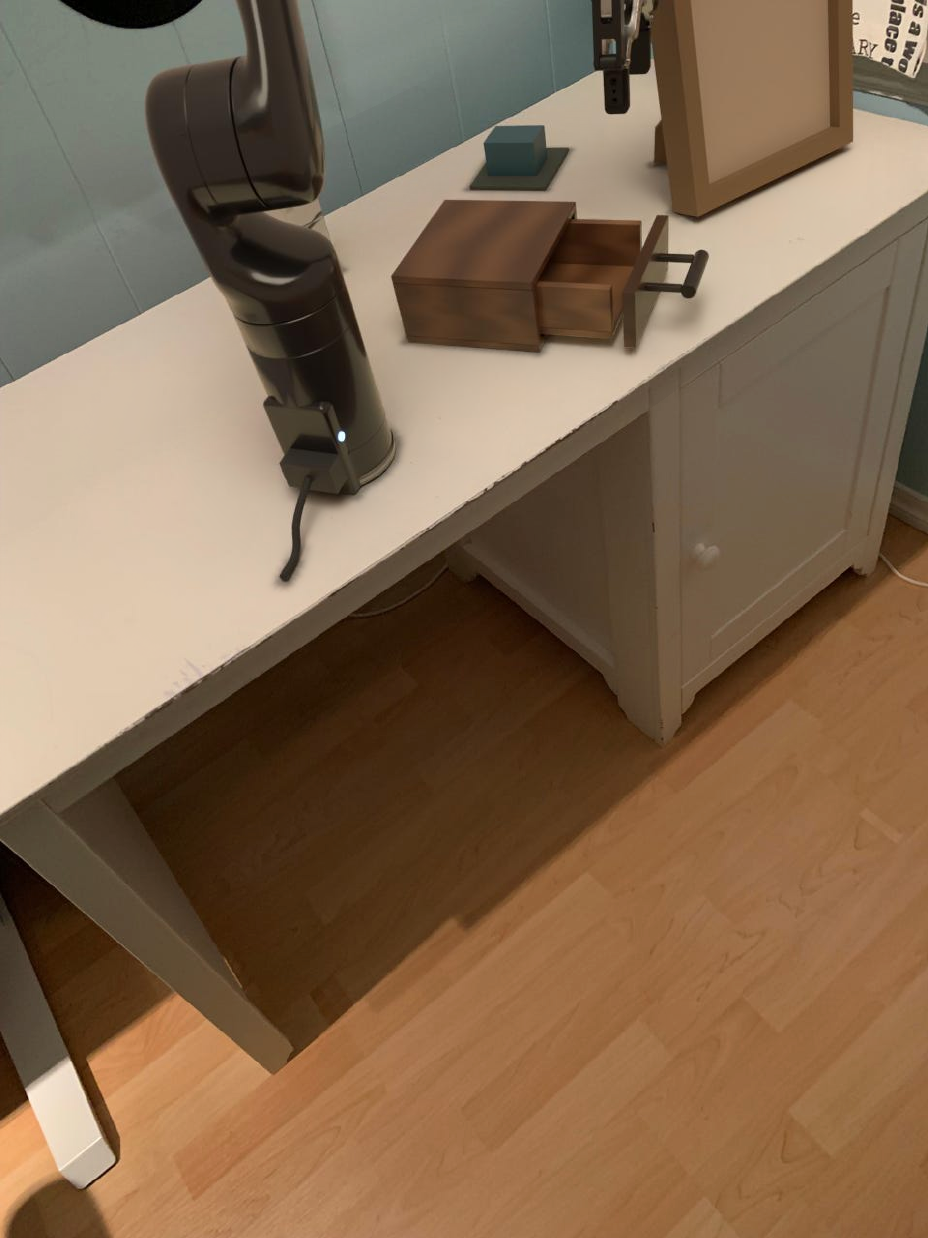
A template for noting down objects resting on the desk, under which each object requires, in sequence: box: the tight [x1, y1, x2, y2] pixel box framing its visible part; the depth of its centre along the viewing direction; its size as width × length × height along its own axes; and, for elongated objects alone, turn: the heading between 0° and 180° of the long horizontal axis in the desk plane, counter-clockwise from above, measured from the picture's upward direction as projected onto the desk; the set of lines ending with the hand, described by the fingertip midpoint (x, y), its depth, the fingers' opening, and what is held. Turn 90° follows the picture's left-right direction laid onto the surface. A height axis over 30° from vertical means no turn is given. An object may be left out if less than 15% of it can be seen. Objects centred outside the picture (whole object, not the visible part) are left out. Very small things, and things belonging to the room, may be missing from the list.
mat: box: [469, 147, 570, 191], centre depth 111 cm, size 10×10×1 cm
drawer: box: [535, 214, 710, 349], centre depth 86 cm, size 18×13×6 cm
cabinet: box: [390, 199, 578, 353], centre depth 90 cm, size 15×15×8 cm
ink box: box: [264, 197, 334, 246], centre depth 100 cm, size 9×5×12 cm, turn 39°
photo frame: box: [649, 0, 854, 218], centre depth 93 cm, size 15×22×25 cm
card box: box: [483, 124, 548, 176], centre depth 109 cm, size 4×6×4 cm
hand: (628, 91), depth 83 cm, fingers open, 8 cm apart
